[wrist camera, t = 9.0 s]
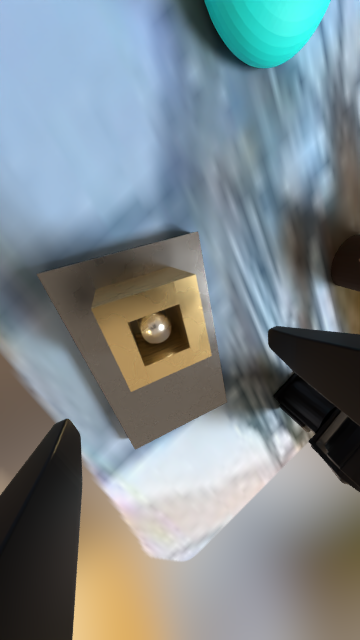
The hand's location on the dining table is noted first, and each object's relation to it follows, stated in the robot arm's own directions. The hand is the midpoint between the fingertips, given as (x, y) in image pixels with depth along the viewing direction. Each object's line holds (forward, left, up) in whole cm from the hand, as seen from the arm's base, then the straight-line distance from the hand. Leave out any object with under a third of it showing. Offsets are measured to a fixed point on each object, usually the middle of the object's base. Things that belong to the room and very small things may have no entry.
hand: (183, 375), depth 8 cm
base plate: (+2, +4, -11) cm, 12 cm away
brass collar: (0, 0, -9) cm, 9 cm away
